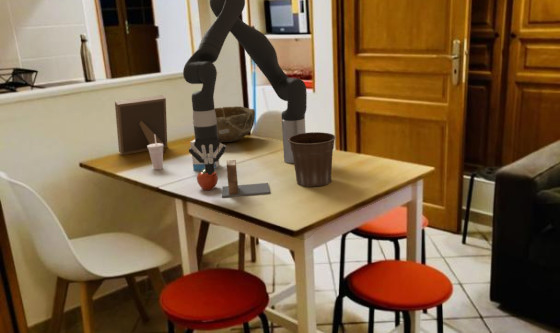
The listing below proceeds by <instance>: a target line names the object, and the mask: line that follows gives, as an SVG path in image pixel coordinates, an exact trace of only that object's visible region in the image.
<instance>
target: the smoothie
mask: <svg viewBox="0 0 560 333" xmlns="http://www.w3.org/2000/svg"><path fill="white" fill-rule="evenodd" d="M154 138H155V144H150V145H148V146H147V147H148V149H149V150H148V153H149V157H150V160H151V164H152V167H153V170H162V169H163V168H164V166H163V165H164V161H163V160H164V158H163V157H164V156H163V155H164V153H163V147H164V146H163V144H161V143H157V142H156V135H155V134H154Z"/></svg>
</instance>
